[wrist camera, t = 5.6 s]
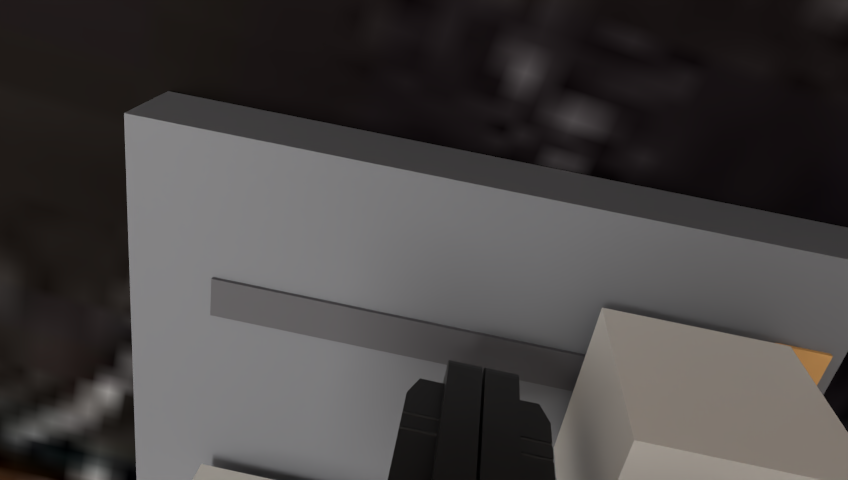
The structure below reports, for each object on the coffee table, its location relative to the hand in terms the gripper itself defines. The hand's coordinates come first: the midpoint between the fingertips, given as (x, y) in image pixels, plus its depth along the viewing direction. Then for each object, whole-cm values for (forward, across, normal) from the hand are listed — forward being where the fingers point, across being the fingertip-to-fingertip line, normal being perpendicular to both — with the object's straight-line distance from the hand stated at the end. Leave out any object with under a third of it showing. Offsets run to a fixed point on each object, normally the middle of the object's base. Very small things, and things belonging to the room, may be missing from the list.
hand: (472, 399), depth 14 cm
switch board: (+4, 0, +7) cm, 8 cm away
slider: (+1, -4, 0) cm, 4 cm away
